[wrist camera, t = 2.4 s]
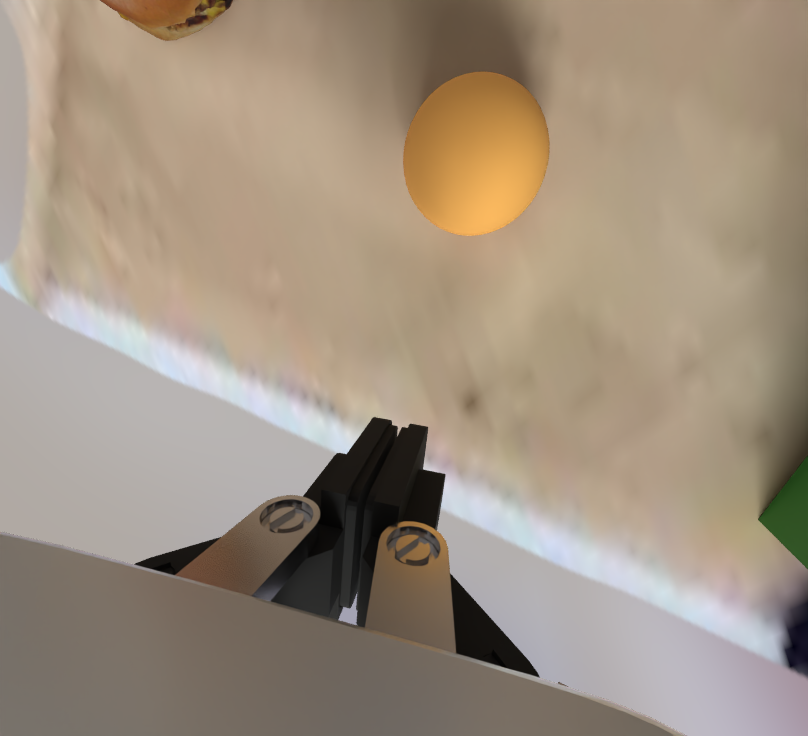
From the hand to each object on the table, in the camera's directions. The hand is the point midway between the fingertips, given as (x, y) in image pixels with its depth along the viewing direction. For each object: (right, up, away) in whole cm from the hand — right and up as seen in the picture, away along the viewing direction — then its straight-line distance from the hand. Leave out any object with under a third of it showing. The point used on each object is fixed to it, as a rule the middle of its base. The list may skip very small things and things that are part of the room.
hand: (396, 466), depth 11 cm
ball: (+3, +12, +5) cm, 13 cm away
